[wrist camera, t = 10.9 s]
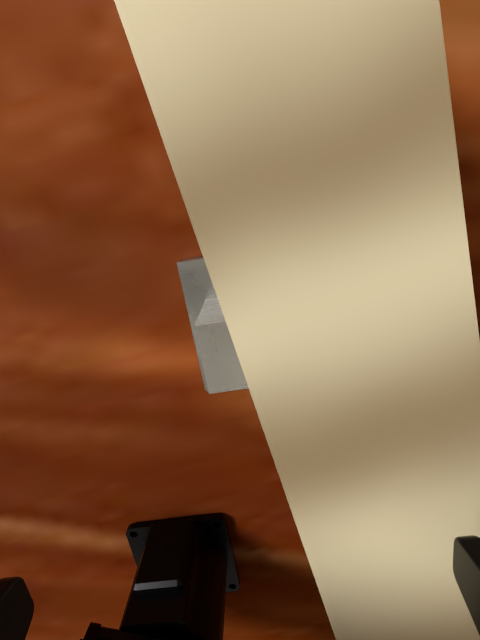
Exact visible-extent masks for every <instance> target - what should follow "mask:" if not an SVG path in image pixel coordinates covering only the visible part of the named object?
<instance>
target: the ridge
mask: <svg viewBox="0 0 480 640" xmlns="http://www.w3.org/2000/svg"><path fill="white" fill-rule="evenodd" d="M177 266H178V270H179V275H180V279H181V284H182V288H183V293H184V297H185V302H186V306H187V310H188V315H189V319H190V324H191V328H192V333H193V337H194V341H195V346H196V350H197V355H198V359H199V364H200V368H201V373H202V377H203V381H204V386H205V390H206V391H208V392H209V394H211V393H218V392H226V391H233V390H240V389H247V388H249V387H248V385H247V382H246V379H245V376H244V373H243V370H242V367H241V364H240V361H239V359H238V356H237V353H236V350H235V347H234V344H233V341H232V338H231V336H230V333H229V330H228V327H227V324H226V321H225V318H224V315H223V312H222V310H221V307H220V304H219V301H218V298H217V295H216V292H215V289H214V286H213V284H212V281H211V278H210V275H209V272H208V269H207V266H206V263H205V261H204V258H203V256H198V257H192V258H186V259H180V260H179V261H178V262H177Z"/></svg>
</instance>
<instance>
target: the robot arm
mask: <svg viewBox="0 0 480 640" xmlns="http://www.w3.org/2000/svg"><path fill="white" fill-rule="evenodd" d="M216 522H219V523H216ZM126 536H127V539H128V541H129V544H130V547H131V550H132V553H133V556H134V559H135V561H136V564H137V567H138V568H137V571H136V575H135V578H134V581H133V585H132V588H131V591H130V595H129V598H128V601H127V605H126V608H125V611H124V615H123V618H122V621H121V625H120V628H119V630H117V629H112V628H107V627H102V626H101V624H98V623H93V622H91V623H90V625H89V627H88V630H87V632H86V634H85V637H84V639H80V640H223V629H224V612H225V595H226V592H235V591H237V590H239V588H240V578H239V574H238V570H237V566H236V561H235V557H234V553H233V549H232V544H231V540H230V536H229V532H228V527H227V523H226V519H225V517H224V516H223V515H221V514H210V515H202V516H193V517H184V518H175V519H167V520H158V521H149V522H141V523H133V524H130V525H129V527H128V529H127V532H126ZM453 572H454V576H455V579H456V582H457V584H458V587H459V589H460V591H461V594H462V596H463V598H464V601H465V603H466V605H467V608H468V610H469V612H470V615H471V617H472V619H473V622H474V624H475V626H476V629H477V631H478V633H479V636H480V537H478V536H474V535H470V536H459V537H456V538H455V539H454V546H453ZM33 612H34V603H33V600H32V598H31V596H30V593H29V591H28V589H27V587H26V584H25V582H24V580H23V579H22V578H21V577H9V578H3V579H0V640H25V638H26V635H27V632H28V629H29V626H30V623H31V620H32V616H33Z"/></svg>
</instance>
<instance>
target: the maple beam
mask: <svg viewBox="0 0 480 640" xmlns="http://www.w3.org/2000/svg"><path fill="white" fill-rule="evenodd" d="M114 1H115V4H116V7H117V10H118V13H119V15H120V18H121V21H122V24H123V27H124V30H125V33H126V36H127V39H128V41H129V44H130V47H131V50H132V53H133V56H134V59H135V62H136V65H137V67H138V70H139V73H140V76H141V79H142V82H143V85H144V88H145V90H146V93H147V96H148V99H149V102H150V105H151V108H152V111H153V114H154V116H155V119H156V122H157V125H158V128H159V131H160V134H161V137H162V139H163V142H164V145H165V148H166V151H167V154H168V157H169V160H170V163H171V165H172V168H173V171H174V174H175V177H176V180H177V183H178V186H179V188H180V191H181V194H182V197H183V200H184V203H185V206H186V209H187V212H188V214H189V217H190V220H191V223H192V226H193V229H194V232H195V235H196V237H197V240H198V243H199V246H200V249H201V252H202V255H203V258H204V261H205V263H206V266H207V269H208V272H209V275H210V278H211V281H212V284H213V286H214V289H215V292H216V295H217V298H218V301H219V304H220V307H221V310H222V312H223V315H224V318H225V321H226V324H227V327H228V330H229V333H230V336H231V338H232V341H233V344H234V347H235V350H236V353H237V356H238V359H239V361H240V364H241V367H242V370H243V373H244V376H245V379H246V382H247V385H248V387H249V390H250V393H251V396H252V399H253V402H254V405H255V408H256V410H257V413H258V416H259V419H260V422H261V425H262V428H263V431H264V434H265V436H266V439H267V442H268V445H269V448H270V451H271V454H272V457H273V459H274V462H275V465H276V468H277V471H278V474H279V477H280V480H281V483H282V485H283V488H284V491H285V494H286V497H287V500H288V503H289V506H290V508H291V511H292V514H293V517H294V520H295V523H296V526H297V529H298V532H299V534H300V537H301V540H302V543H303V546H304V549H305V552H306V555H307V558H308V560H309V563H310V566H311V569H312V572H313V575H314V578H315V581H316V583H317V586H318V589H319V592H320V595H321V598H322V601H323V604H324V607H325V609H326V612H327V615H328V618H329V621H330V624H331V627H332V630H333V632H334V635H335V638H336V640H480V636H479V633H478V631H477V629H476V626H475V624H474V622H473V619H472V617H471V615H470V612H469V610H468V608H467V605H466V603H465V601H464V598H463V596H462V594H461V591H460V589H459V587H458V584H457V582H456V579H455V576H454V572H453V546H454V539H455V538H456V537H459V536H470V535H474V536H478V537H480V339H479V331H478V322H477V314H476V306H475V297H474V289H473V280H472V272H471V264H470V255H469V247H468V239H467V230H466V222H465V214H464V205H463V197H462V188H461V180H460V172H459V163H458V155H457V147H456V138H455V130H454V122H453V113H452V105H451V97H450V88H449V80H448V71H447V63H446V55H445V46H444V38H443V30H442V21H441V13H440V5H439V0H114Z"/></svg>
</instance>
